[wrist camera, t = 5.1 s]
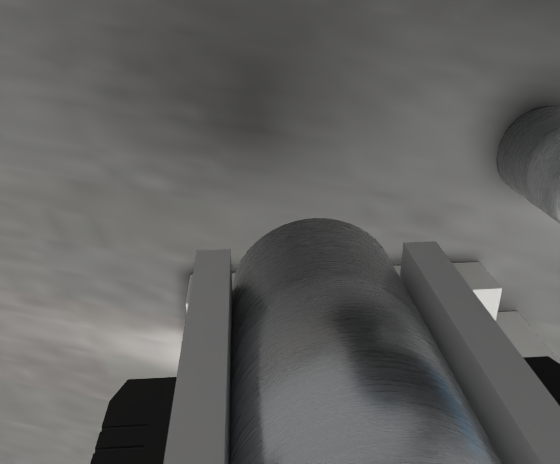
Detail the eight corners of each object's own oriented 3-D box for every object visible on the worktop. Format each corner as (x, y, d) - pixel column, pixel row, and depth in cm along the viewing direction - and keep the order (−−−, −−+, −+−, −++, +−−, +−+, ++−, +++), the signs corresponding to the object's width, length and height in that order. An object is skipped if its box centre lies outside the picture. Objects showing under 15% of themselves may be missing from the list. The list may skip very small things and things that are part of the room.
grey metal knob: (227, 221, 12) (216, 486, 6) (402, 215, 12) (576, 463, 6) (235, 363, 14) (232, 689, 7) (388, 355, 14) (512, 664, 8)
